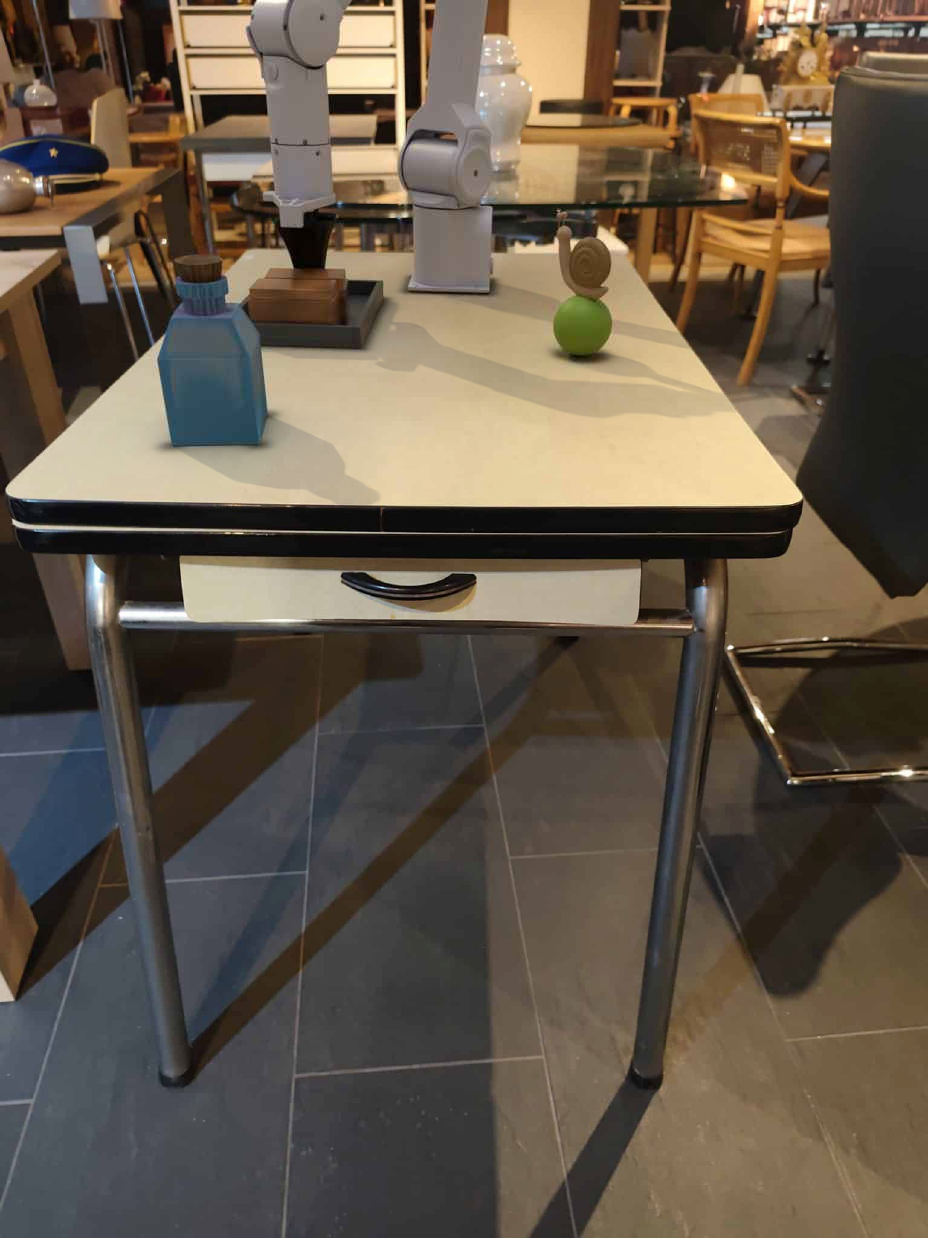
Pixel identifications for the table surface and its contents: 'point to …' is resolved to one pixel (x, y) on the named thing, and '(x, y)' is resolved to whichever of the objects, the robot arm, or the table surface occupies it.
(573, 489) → the table surface
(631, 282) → the table surface
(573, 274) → the snail figurine
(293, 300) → the brown wooden block
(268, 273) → the brown lidded wooden box
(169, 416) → the perfume bottle
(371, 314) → the tray
